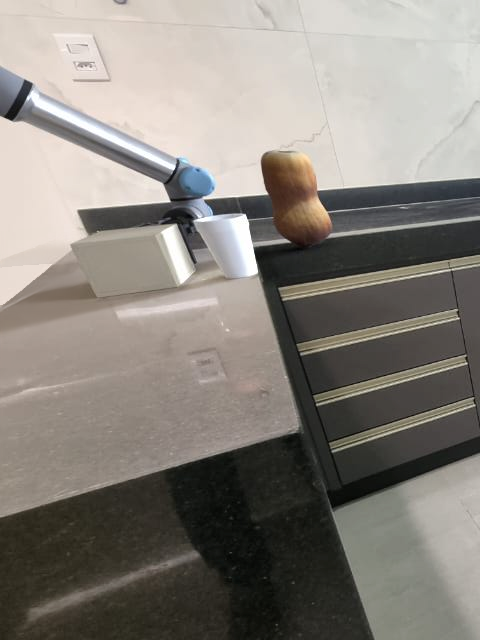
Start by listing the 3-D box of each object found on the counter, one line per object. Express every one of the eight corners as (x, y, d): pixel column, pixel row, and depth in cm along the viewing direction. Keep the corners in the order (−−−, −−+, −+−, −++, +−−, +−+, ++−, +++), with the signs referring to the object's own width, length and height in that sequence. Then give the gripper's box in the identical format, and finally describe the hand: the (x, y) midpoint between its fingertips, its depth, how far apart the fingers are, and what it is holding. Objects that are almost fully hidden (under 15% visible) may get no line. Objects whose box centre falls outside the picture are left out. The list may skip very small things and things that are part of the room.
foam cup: (209, 282, 117) (185, 223, 111) (226, 271, 125) (204, 216, 119) (258, 277, 119) (236, 219, 114) (271, 267, 127) (251, 212, 122)
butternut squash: (344, 245, 146) (316, 148, 135) (290, 255, 138) (256, 153, 127) (327, 238, 155) (299, 147, 144) (275, 248, 146) (242, 151, 135)
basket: (143, 264, 132) (126, 226, 127) (204, 256, 136) (189, 219, 132) (110, 285, 115) (89, 242, 111) (181, 276, 119) (163, 234, 115)
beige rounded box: (124, 280, 122) (100, 231, 117) (196, 270, 127) (176, 223, 122) (96, 298, 110) (69, 244, 105) (178, 287, 115) (155, 235, 110)
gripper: (235, 229, 151) (216, 245, 133) (140, 239, 143) (106, 257, 125) (225, 202, 148) (204, 214, 129) (127, 211, 140) (90, 225, 121)
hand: (156, 235), depth 127 cm, fingers closed on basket, 9 cm apart
